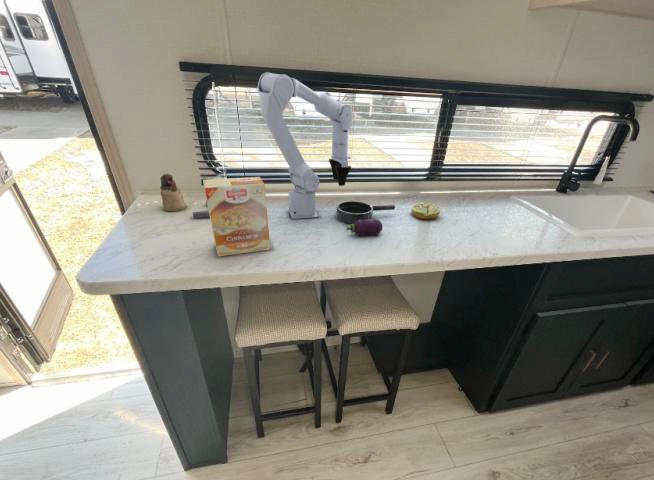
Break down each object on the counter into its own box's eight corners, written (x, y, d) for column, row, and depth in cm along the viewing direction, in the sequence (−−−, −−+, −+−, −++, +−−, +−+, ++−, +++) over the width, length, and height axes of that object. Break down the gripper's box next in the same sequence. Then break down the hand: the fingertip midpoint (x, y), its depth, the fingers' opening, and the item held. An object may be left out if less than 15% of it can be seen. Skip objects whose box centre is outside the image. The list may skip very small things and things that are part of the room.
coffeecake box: (217, 257, 93) (203, 187, 82) (215, 246, 98) (201, 178, 87) (271, 250, 99) (265, 183, 87) (266, 239, 104) (259, 175, 92)
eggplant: (377, 224, 115) (381, 215, 110) (381, 236, 113) (386, 227, 108) (343, 227, 111) (346, 217, 107) (347, 239, 109) (350, 230, 105)
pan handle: (371, 211, 122) (371, 206, 121) (369, 209, 123) (370, 205, 122) (395, 210, 125) (396, 205, 124) (393, 208, 126) (394, 203, 125)
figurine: (178, 203, 124) (170, 169, 117) (189, 207, 121) (182, 173, 114) (160, 207, 119) (150, 173, 112) (171, 213, 116) (161, 178, 109)
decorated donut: (405, 214, 128) (406, 204, 126) (421, 208, 135) (423, 199, 132) (427, 222, 123) (429, 212, 120) (443, 216, 129) (445, 206, 127)
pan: (342, 226, 116) (342, 215, 113) (332, 212, 126) (333, 201, 123) (376, 223, 119) (378, 212, 117) (365, 210, 129) (365, 200, 127)
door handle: (190, 218, 107) (241, 212, 111) (195, 197, 123) (240, 193, 126) (193, 227, 109) (243, 222, 113) (197, 206, 125) (242, 201, 128)
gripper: (357, 147, 113) (354, 187, 121) (345, 138, 124) (343, 176, 132) (337, 147, 111) (336, 188, 119) (326, 138, 122) (326, 176, 130)
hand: (338, 182), depth 125 cm, fingers open, 7 cm apart
